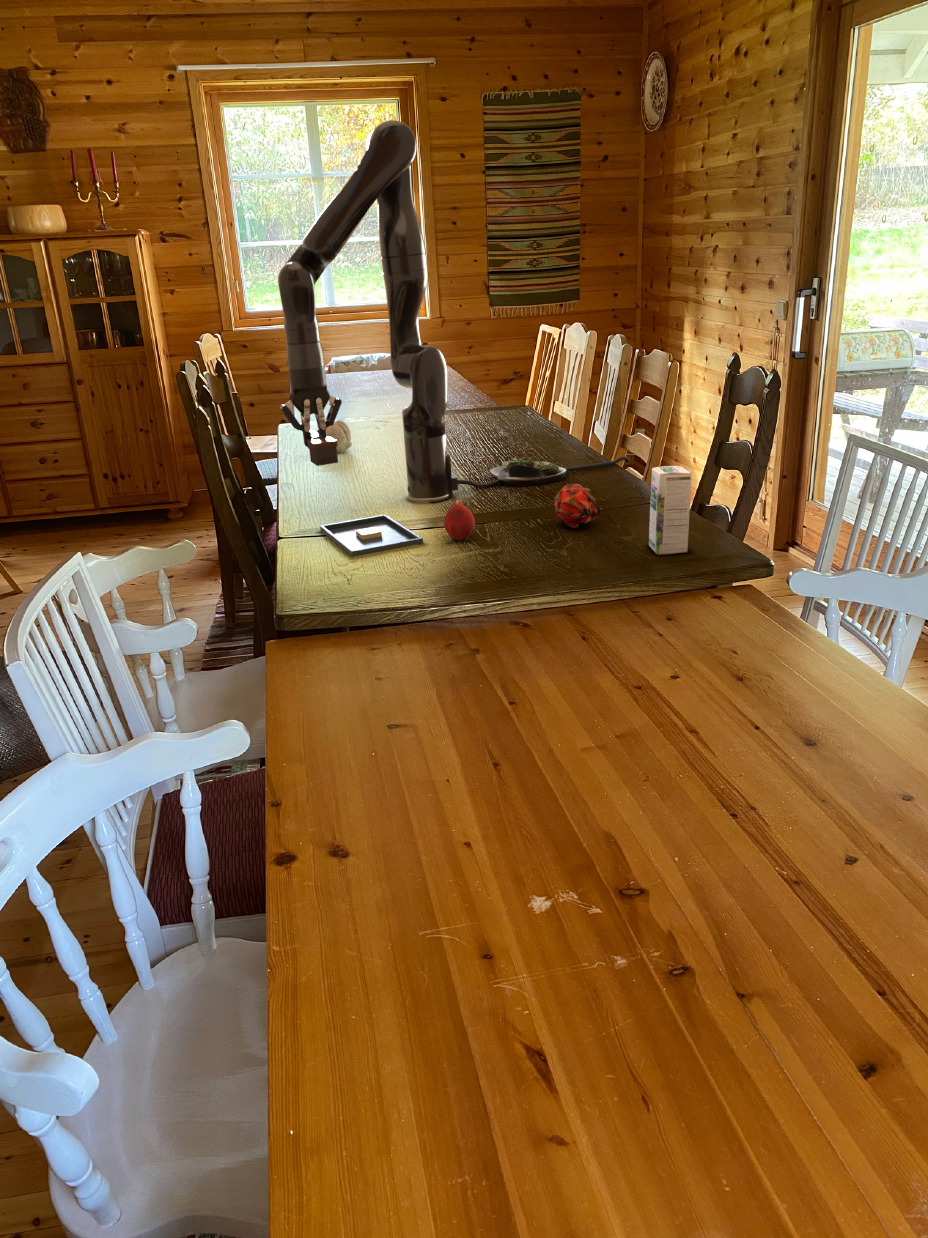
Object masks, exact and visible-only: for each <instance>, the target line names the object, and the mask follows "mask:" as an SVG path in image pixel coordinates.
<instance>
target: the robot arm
mask: <svg viewBox="0 0 928 1238" xmlns="http://www.w3.org/2000/svg"><path fill="white" fill-rule="evenodd" d="M365 147H366V150H365V152H364V154H363V156H362V158H361V160H360V162H359V164H358V165H357V167H356V168H355V170H354V171H353V173H352V174H351V176H350V178H349V179H348V180H347V181H346V183H345V184H344V185H343V186H342V187H341V188H340V190H339V192H338V193H336V195H335V196H334V197H333V198H332V199H331V201H330V202H329V203H328V204H327V205H326V206H325V208H324V210H322V212H320V214H319V216H318V217H317V218H316V220H315V221H314V223H313V224H312V226H311V227H310V229H309V230H308V231H307V232H306V234H305V236H304V238H303V240H302V241H301V244H300V245H299V246H298V248H296V250H295V251H294V252H293V254H292V255H291V256H290V257H289V259H288V260H287V261H286V262H285V264H284V265H283V266H282V268H281V269H280V270H279V273H278V276H277V286H278V290H279V296H280V302H281V307H282V312H283V328H284V329H283V331H284V336H285V337H284V338H285V344H286V366H287V369H288V370H287V371H288V379H289V385H290V395H289V400H288V401H286V402H285V403H284V404H283V403H282V404H280V405H279V409H280V411H281V412H282V413H283V415H284V416H285V418H286V419H287V420H288V422H289V424H291V426H292V427H293V429H295V430H297V431H301V432H302V436H303V437H302V439H303V444H304V446H305V447H306V448H307V450H309V446H308V444H307V440H309V439H312V437H311V436H312V435H311V432H310V430H311V415H314V417H315V421H316V425H317V429H316V431H317V432H316V433H318V434H320V435H322V436H323V437H326V428H327V427H329V426H332V425H333V424H334V422H336V419H337V416H338V414H339V411H340V409H341V406H342V402H343V401H342V399H341V398H339V397H335V396H332V395H331V393H330V392H329V390H328V384H327V375H326V368H325V366H326V365H325V359H324V358H325V357H324V351H323V347H322V343H321V335H320V325H319V320H318V317H317V311H316V309H317V308H316V293H315V291H316V290H315V285H316V283H317V282H318V280H319V279H320V278H321V276H322V275H323V273H324V271H325V269H326V268H327V267H328V266H329V265H330V264H331V263H333V261H334V260H335V259H336V258H337V256H338V255H339V254H340V252H341V251H342V249H343V248H344V246H345V245H346V244H347V243H348V241H349V240H350V239H351V237H352V235H353V234H354V232H355V231H356V229H357V228H358V226H359V225H360V223H361V222H362V221H363V219H364V217H365V216H366V215H367V213H368V212H369V210H371V209H370V208H371V207H372V206H373V204H374V203H375V201H376V202H377V203H376V204H377V217H378V218H377V221H378V223H377V224H378V237H379V250H380V259H381V266H382V275H383V281H384V288H385V295H386V296H385V297H386V305H387V312H388V313H387V315H388V323H389V324H388V325H389V349H390V351H389V352H390V368H391V372H392V376H393V378H394V380H395V381H396V383H397V384H398V385H399V386H401V387H403V388H405V389H411V395H412V396H411V398H412V399H411V402H410V404H409V405H408V406H406V407H404V408H403V409H402V412H401V416H402V430H403V443H404V454H405V467H406V468H405V469H406V481H407V482H406V483H407V487H406V488H407V493H408V494H407V498H408V500H409V501H411V502H417V503H435V502H440V501H441V502H442V501H444V500H448V499H450V498H454V493H453V492H454V491H458V490H459V485H467V486H471V487H473V488H476V489H485V488H490V487H494V486H497V485H500V484H505V483H504V482H503V481H501V480H499V479H496V480H493V481H490V482H486V483H478V482H477V483H476V482H474V481H471V480H467V479H458V477H457V476H454V475H453V474H452V460H451V459H452V458H451V455H450V454H449V453H448V451H447V450H448V449H447V436H446V435H447V434H446V420H445V419H446V418H445V415H446V414H445V413H446V410H447V406H448V368H447V362H446V358H445V355H444V354H443V352H442V351H441V350H440V349H439V348H438V347H435V346H433V345H426V344H422V341H421V335H420V323H419V322H420V311H421V307H422V304H423V301H424V297H425V294H426V290H427V288H428V287H427V286H428V280H429V275H428V274H429V270H428V261H427V254H426V245H425V239H424V236H423V232H422V229H421V224H420V220H419V216H418V214H417V210H416V207H415V203H414V198H413V187H412V164H413V163H414V161H415V158H416V156H417V150H418V149H417V147H418V144H417V138H416V136H415V133H414V131H413V130H412V129H411V127H409V125H407V124H406V123H405V122H402V121H400V120H395V119H394V120H393V119H390V120H386V121H383V122H381V123H379V124H378V125H376V126H375V127H374V128H373V129H372V131H371V132H370V133H369V134H368V136H367V140H366V146H365ZM327 404H328V406H329V409H328V412H327V415H326V417H325V412H324V410H325V408H326V406H327ZM293 406H294V408H295V409H297V411H298V412H299V413H300V415H299V416H300V420H301V421H300V422H299V421H298V419H297V418H296V417H295V415H294V414H293V412H294V408H293ZM621 461H625V462H627V463H631V460H630V458H629V457H627V456H626V455H622V456H619V457H617V458H616V459H614V460H610V461H605V462H599V463H592V464H585V465H584V464H583V465H577V466H570V467H563V468H564V469H566V473H569V472H577V471H583V470H590V469H597V468H602V467H603V468H604V467H609V466H614V465H616V464H618V463H620V462H621Z"/></svg>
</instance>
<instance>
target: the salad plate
mask: <svg viewBox="0 0 928 1238" xmlns="http://www.w3.org/2000/svg"><path fill="white" fill-rule="evenodd" d="M564 468H565V467H561V466H559V465H556V464H555V463H551V462H548V461H535V460H533V459H532V458H530V457H528V456H524V457H521V458H516V457H512V458H511V459H510V460H509V461H506V460H505V461H502V464H501V466H496V467H493V468H491V469H490V474H491V476H493V477H495V478H496V479H497V480H501V481H503V482H504V483H503V484H505V485H508V486H514V487H527V486H536V485H537V486H538V485H544V484H545V485H546V484H550V483H555V482H558V481H561V480H562V479H563V478H564V477H565V476H566V474H567V472H566V469H564Z"/></svg>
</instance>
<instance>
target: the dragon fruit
mask: <svg viewBox="0 0 928 1238" xmlns="http://www.w3.org/2000/svg"><path fill="white" fill-rule="evenodd" d="M592 493H593V492H592V490H591V488H589V487H583V486H582V485H581V484H579V483H569V484H566V485H564V486H563V487H562V488H561V489H560V491H559V492H558V493H557V494H556V495H555V496H554V500H553V501H554V502H553V508H555V511H554V514H555V515H554V516H555V518H556V521H557V522H558V523H560V522H564V523H565V524H566V525H567V526H568V527H569V528H573V529H579V528H580V527H579V525H580V524H586V525H587V524H589V523H590V522H591V521H592V518H595V517H598V516H600V515H601V514H602V507H599V508H598V506H599V505H598V503H597V500H596V498H595V496H594V495H592ZM596 506H597V507H596Z"/></svg>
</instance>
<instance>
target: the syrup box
mask: <svg viewBox="0 0 928 1238" xmlns="http://www.w3.org/2000/svg"><path fill="white" fill-rule="evenodd" d="M692 476H693V475H692V472H690V471H688V470H687V469H686V468H685V467H683V466H681V465H680V466H678V465H664V466H663V465H662V466H656V467H652V468H651V487H650V505H649V506H650V507H649V529H648V546H649V547H650V549H651V550H652V551H653V552H654V553H655V554H656V555H659V556H660V555H661V556H662V555H674V554H682V553H683V554H684V553H688V547H689V534H690V533H689V531H690V510H691V496H692V495H691V494H692Z"/></svg>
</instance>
